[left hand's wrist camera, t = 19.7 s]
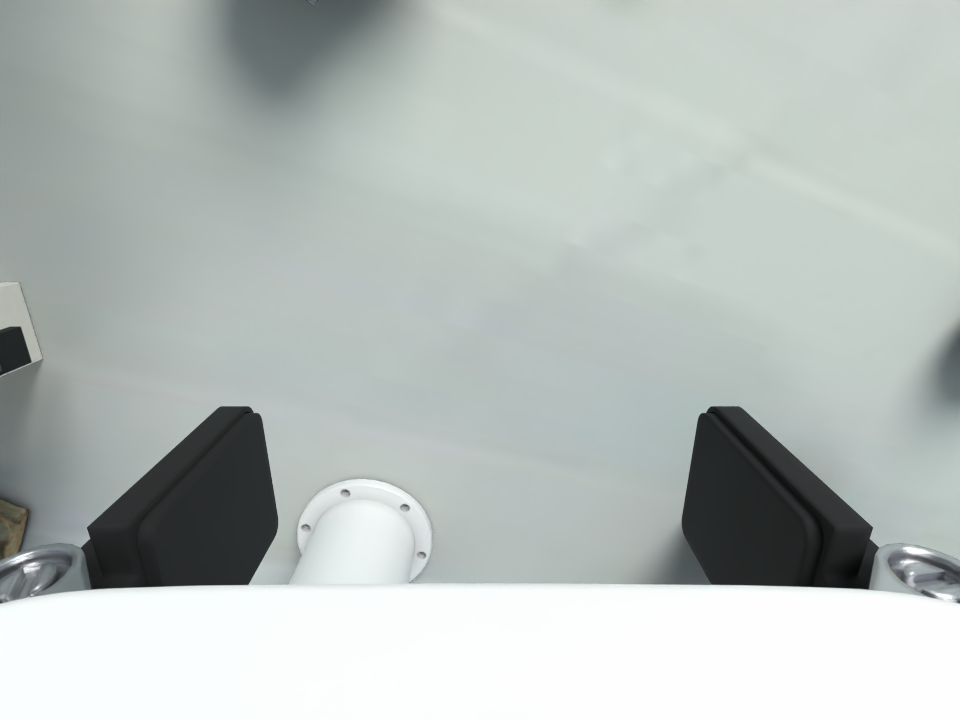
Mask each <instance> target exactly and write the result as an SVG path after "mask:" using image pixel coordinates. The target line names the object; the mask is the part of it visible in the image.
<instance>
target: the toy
mask: <svg viewBox="0 0 960 720" xmlns="http://www.w3.org/2000/svg"><path fill="white" fill-rule="evenodd" d="M307 1H308V2H309V3H310V4H311V5H312V6H313V5H314V4H315V3H316V2H317V1H318V0H307Z"/></svg>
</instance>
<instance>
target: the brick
mask: <svg viewBox="0 0 960 720" xmlns="http://www.w3.org/2000/svg"><path fill="white" fill-rule="evenodd" d="M13 326H21V328H22V332H23V335H24V338H25V341H26V345H27V348H28V351H29V354H30V357H31V361H32V363H34V362H37V361H39V360H41V359H43V358H42V354H41V351H40V348H39V345H38V341H37V338H36V335H35V332H34V329H33V325H32V322H31V319H30V316H29V313H28V309H27V306H26V303H25V300H24V296H23V293H22V290H21V287H20V284H19V282H0V330H1V329H4V328H7V327H13ZM32 363H29V364H27V365H25V366H28V365H30V364H32ZM25 366H22V367H20V368H18V369H21V368H23V367H25ZM18 369H15V370H13V371H10V372H8V373H6V374H3V375H1V376H0V377H2V376H4V375H7V374H9V373H11V372H14V371H16V370H18Z"/></svg>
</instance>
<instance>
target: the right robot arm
mask: <svg viewBox="0 0 960 720" xmlns="http://www.w3.org/2000/svg"><path fill="white" fill-rule="evenodd" d="M29 363H32V361H31V357H30V354H29V351H28V348H27V345H26V341H25V338H24V335H23V332H22V328H21V326H13V327H7V328H4V329H1V330H0V376H1V375H3V374H6V373H8V372H10V371H13V370H15V369H18V368H20V367H22V366H25V365H27V364H29Z"/></svg>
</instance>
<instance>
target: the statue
mask: <svg viewBox="0 0 960 720" xmlns="http://www.w3.org/2000/svg"><path fill="white" fill-rule="evenodd" d="M28 512H29V511H28V509H26V508H22V507H18V506H16V505H13V504H11V503H9V502H6V501H4V500H2V499H0V561H1V560H3V559H5V558H7V557H9V556H12V555H14V554H17V553H18V552H19V549H20V546H21V542H22V538H23V533H24V530H25V527H26V525H27V517H28Z"/></svg>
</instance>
